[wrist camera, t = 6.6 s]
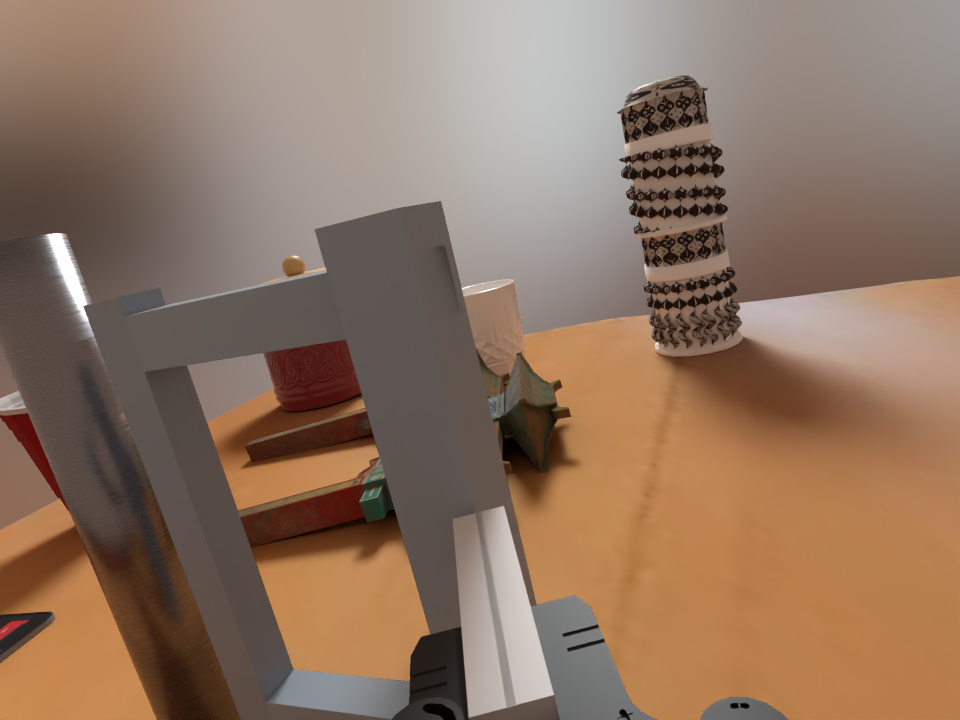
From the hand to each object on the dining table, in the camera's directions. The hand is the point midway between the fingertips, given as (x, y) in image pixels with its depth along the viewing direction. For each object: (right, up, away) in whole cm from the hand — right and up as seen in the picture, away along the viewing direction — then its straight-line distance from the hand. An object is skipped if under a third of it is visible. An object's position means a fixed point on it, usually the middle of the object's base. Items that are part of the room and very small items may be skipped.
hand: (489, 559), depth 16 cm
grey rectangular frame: (-3, -9, +6) cm, 11 cm away
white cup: (+2, +3, +51) cm, 51 cm away
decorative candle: (+22, +7, +46) cm, 52 cm away
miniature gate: (-8, -4, +33) cm, 34 cm away
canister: (-19, +1, +62) cm, 65 cm away
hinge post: (-11, -10, +9) cm, 18 cm away
